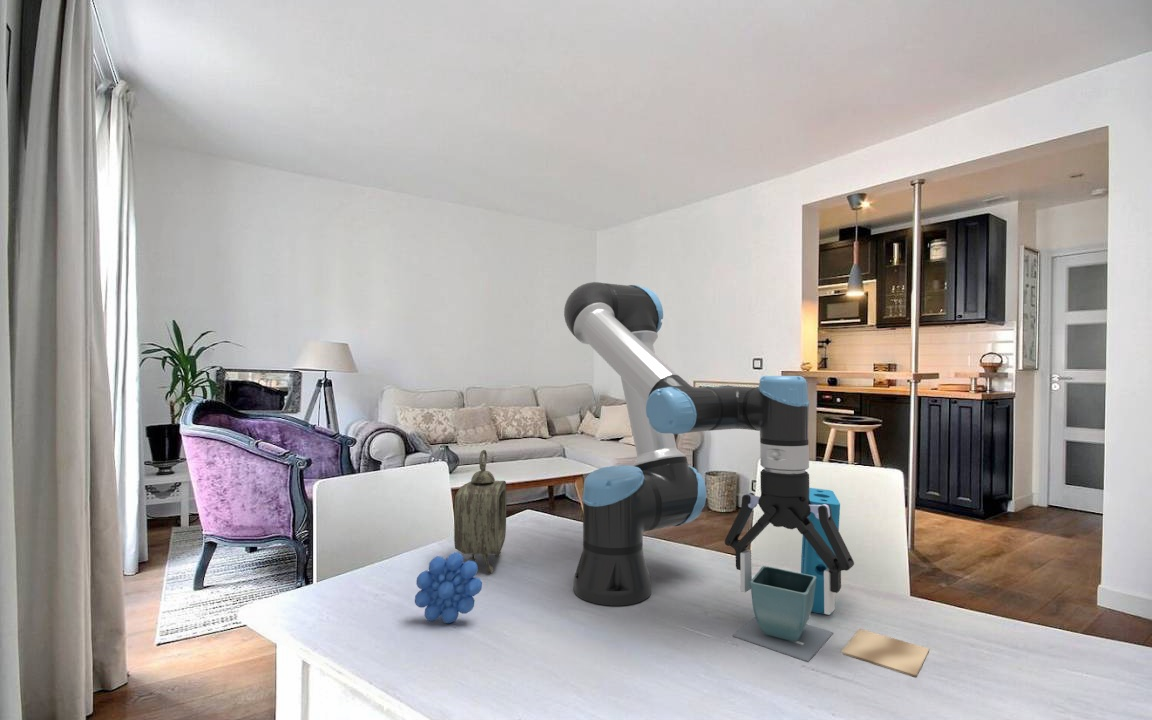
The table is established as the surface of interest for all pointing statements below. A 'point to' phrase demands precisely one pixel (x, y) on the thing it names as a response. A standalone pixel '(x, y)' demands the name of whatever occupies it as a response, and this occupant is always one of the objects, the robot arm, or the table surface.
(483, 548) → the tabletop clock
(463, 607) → the blue ball flower
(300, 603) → the table surface
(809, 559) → the block
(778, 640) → the tile
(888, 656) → the cork mat
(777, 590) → the flower pot
